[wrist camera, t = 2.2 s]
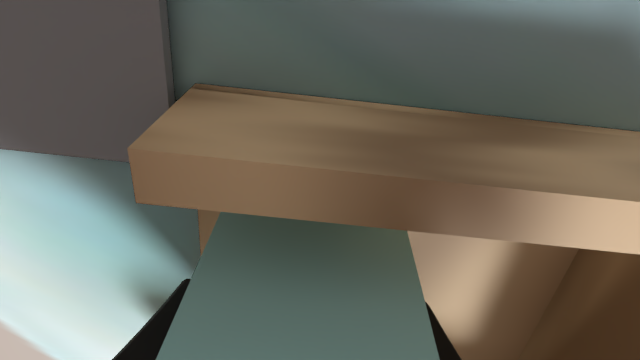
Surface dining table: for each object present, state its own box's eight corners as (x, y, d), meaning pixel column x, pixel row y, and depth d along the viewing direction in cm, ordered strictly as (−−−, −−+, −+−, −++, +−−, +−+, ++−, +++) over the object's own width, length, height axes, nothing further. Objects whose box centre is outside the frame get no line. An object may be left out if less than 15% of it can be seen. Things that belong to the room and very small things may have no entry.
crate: (671, 135, 9) (827, 222, 6) (519, 391, 14) (567, 507, 11) (195, 83, 9) (127, 148, 6) (211, 362, 14) (178, 472, 11)
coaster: (154, -144, 7) (144, -149, 7) (180, 159, 10) (174, 167, 10) (-196, -186, 7) (-225, -194, 7) (-63, 134, 10) (-78, 141, 10)
